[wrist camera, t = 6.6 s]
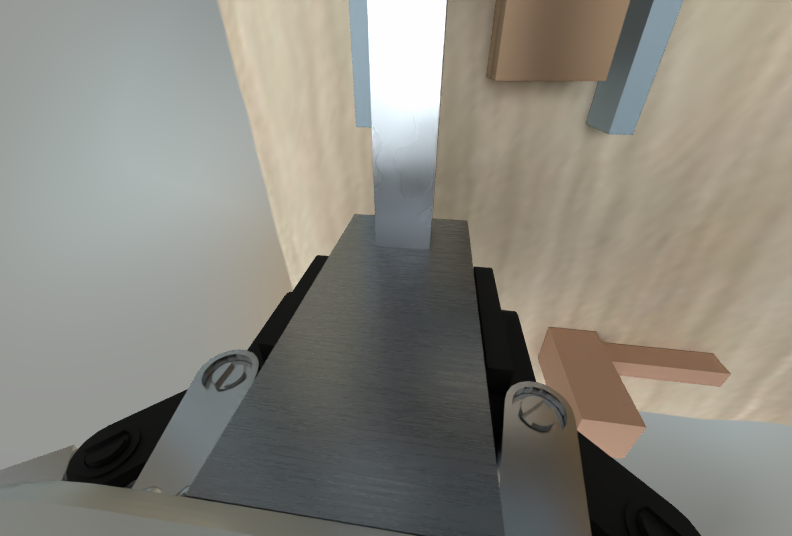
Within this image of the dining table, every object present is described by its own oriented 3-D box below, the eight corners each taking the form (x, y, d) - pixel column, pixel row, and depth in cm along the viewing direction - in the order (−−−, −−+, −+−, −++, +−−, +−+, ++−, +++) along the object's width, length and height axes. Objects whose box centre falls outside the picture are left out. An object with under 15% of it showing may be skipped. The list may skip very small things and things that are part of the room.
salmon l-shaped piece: (538, 357, 31) (565, 450, 24) (548, 327, 29) (582, 418, 22) (696, 374, 30) (779, 481, 22) (720, 343, 28) (820, 449, 20)
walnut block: (601, -38, 16) (651, -71, 12) (572, 76, 19) (605, 81, 15) (500, -34, 17) (515, -64, 13) (486, 76, 20) (495, 80, 16)
